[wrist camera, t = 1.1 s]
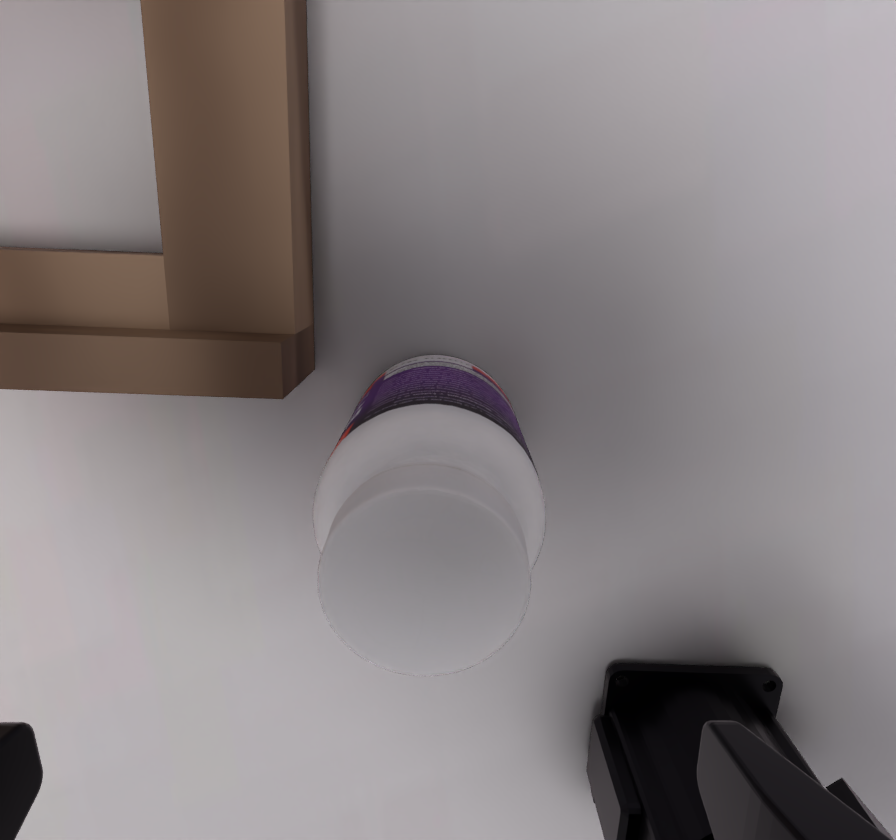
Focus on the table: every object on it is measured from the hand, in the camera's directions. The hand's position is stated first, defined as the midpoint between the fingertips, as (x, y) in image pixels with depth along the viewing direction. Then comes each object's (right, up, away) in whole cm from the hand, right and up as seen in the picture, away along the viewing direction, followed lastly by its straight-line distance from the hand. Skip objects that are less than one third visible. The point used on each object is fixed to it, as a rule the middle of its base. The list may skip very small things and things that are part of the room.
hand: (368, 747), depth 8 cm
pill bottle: (+1, +4, +13) cm, 13 cm away
